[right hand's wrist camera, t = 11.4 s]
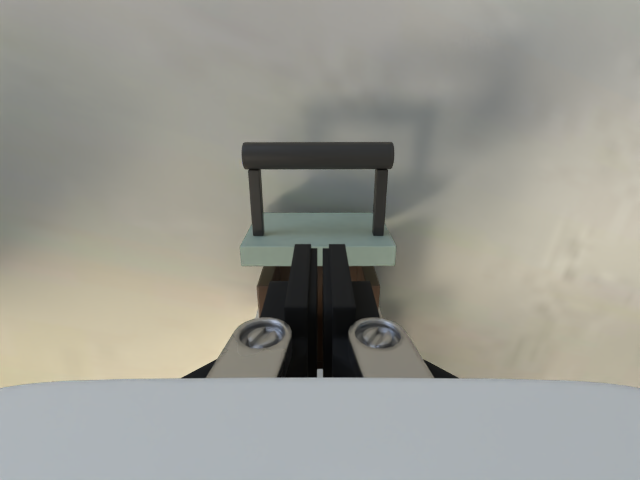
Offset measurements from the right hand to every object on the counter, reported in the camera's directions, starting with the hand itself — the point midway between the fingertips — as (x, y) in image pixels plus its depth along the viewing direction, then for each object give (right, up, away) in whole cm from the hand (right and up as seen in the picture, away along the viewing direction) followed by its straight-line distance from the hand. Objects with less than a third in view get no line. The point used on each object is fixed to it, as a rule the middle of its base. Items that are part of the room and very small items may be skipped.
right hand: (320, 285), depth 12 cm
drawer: (0, 0, +14) cm, 14 cm away
